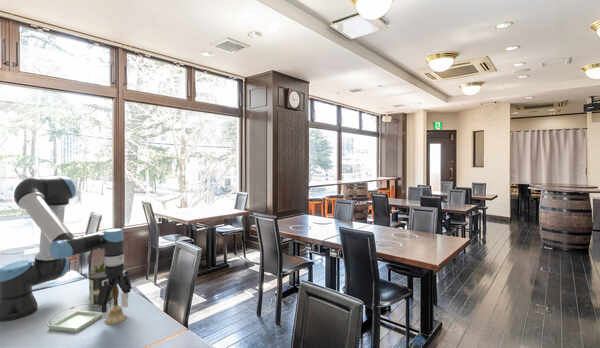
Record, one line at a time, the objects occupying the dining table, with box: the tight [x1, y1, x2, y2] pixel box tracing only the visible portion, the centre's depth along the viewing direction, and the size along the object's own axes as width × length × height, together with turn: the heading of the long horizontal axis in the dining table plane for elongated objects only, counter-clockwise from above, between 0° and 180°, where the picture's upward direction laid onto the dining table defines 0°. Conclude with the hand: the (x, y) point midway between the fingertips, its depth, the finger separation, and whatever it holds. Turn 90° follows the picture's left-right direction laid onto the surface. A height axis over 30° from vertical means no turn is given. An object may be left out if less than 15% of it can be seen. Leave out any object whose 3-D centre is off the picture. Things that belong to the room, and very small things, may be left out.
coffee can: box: [88, 271, 114, 307], centre depth 155 cm, size 10×10×14 cm
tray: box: [48, 309, 102, 334], centre depth 134 cm, size 14×14×2 cm
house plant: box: [84, 261, 106, 280], centre depth 168 cm, size 14×14×16 cm
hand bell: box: [104, 284, 127, 326], centre depth 136 cm, size 8×8×16 cm
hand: (115, 312), depth 137 cm, fingers open, 10 cm apart
